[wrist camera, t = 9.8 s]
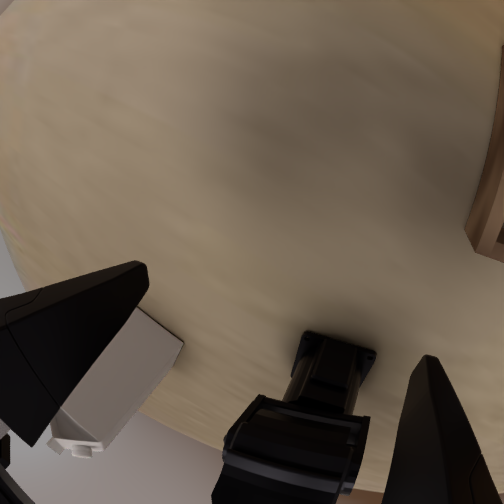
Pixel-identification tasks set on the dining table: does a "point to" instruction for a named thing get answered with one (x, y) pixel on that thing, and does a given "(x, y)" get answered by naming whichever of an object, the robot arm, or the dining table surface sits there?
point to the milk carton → (114, 387)
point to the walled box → (491, 191)
